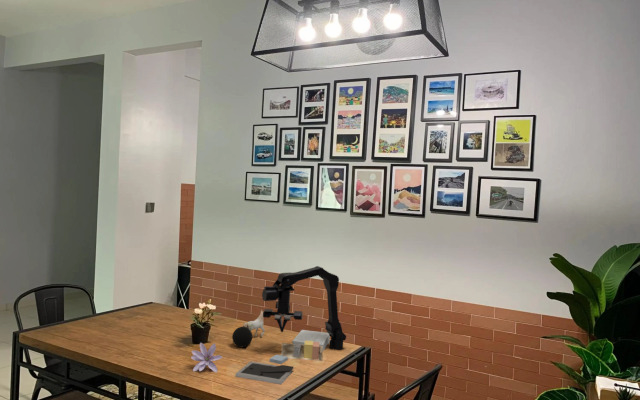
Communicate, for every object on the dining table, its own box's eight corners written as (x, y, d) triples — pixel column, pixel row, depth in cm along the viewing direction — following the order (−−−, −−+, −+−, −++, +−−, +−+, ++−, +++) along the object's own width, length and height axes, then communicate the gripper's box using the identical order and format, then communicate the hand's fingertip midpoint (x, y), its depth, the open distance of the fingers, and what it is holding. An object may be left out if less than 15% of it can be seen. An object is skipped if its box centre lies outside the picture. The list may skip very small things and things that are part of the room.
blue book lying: (287, 363, 227) (287, 356, 227) (280, 367, 221) (281, 361, 221) (276, 360, 229) (276, 354, 229) (269, 365, 223) (269, 358, 223)
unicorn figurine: (270, 334, 268) (271, 310, 268) (250, 343, 251) (251, 318, 251) (259, 332, 272) (261, 308, 271) (238, 341, 254) (240, 315, 254)
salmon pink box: (318, 354, 237) (319, 342, 237) (318, 359, 230) (319, 346, 230) (312, 353, 237) (313, 341, 237) (312, 358, 230) (312, 346, 230)
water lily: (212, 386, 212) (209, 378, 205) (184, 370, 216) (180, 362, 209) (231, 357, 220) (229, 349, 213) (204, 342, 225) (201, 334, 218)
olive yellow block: (312, 354, 236) (313, 341, 236) (312, 358, 230) (312, 345, 230) (304, 353, 237) (305, 340, 236) (303, 358, 231) (304, 344, 230)
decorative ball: (228, 347, 243) (229, 327, 242) (238, 342, 252) (239, 323, 252) (245, 351, 239) (246, 331, 239) (255, 345, 249) (256, 326, 248)
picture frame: (293, 373, 216) (250, 365, 222) (293, 366, 216) (250, 359, 222) (281, 386, 201) (235, 378, 207) (281, 379, 201) (235, 371, 207)
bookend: (300, 353, 236) (301, 343, 236) (299, 357, 230) (300, 347, 230) (294, 353, 236) (295, 343, 236) (293, 357, 230) (294, 347, 230)
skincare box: (291, 351, 243) (322, 354, 240) (291, 340, 243) (322, 343, 240) (301, 339, 264) (330, 342, 260) (301, 329, 264) (330, 331, 260)
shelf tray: (322, 356, 238) (322, 345, 238) (321, 363, 228) (322, 352, 228) (281, 353, 239) (282, 343, 239) (279, 360, 229) (280, 349, 229)
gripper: (304, 297, 241) (302, 328, 241) (266, 295, 242) (265, 326, 242) (302, 302, 230) (300, 335, 230) (263, 300, 231) (261, 332, 231)
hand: (281, 332), depth 234 cm, fingers closed
